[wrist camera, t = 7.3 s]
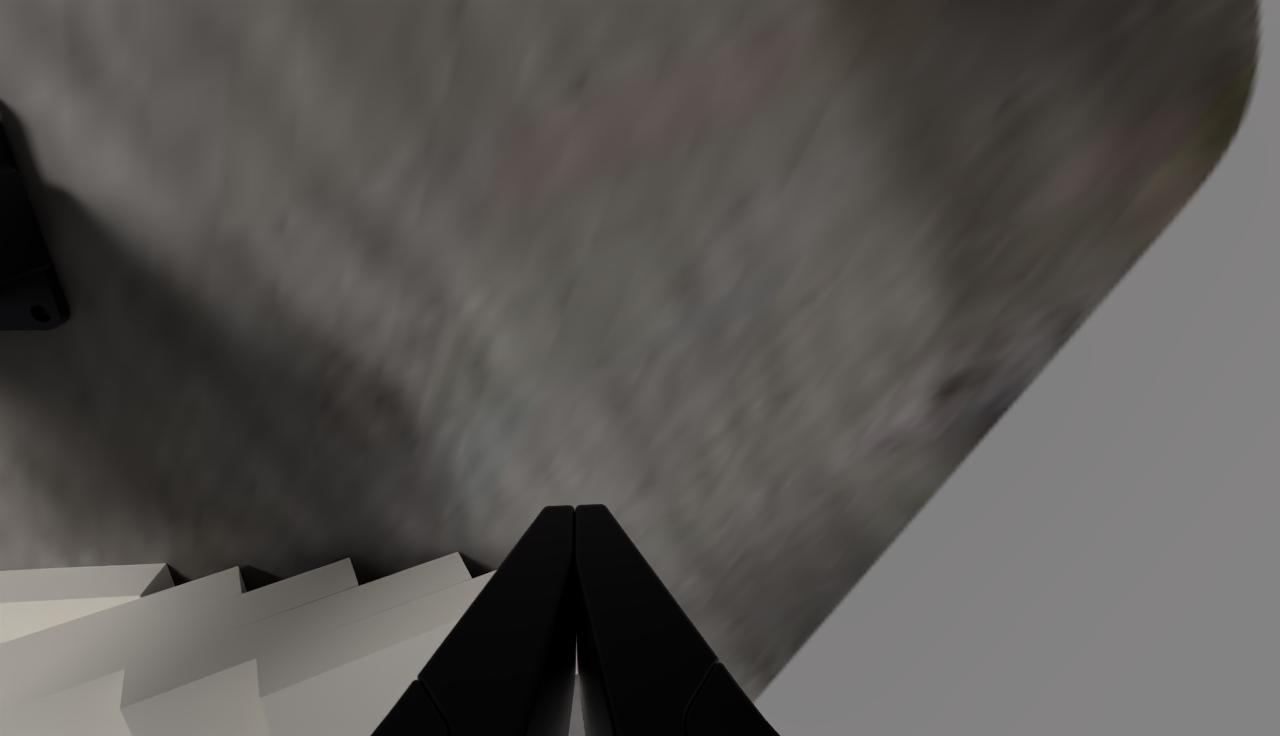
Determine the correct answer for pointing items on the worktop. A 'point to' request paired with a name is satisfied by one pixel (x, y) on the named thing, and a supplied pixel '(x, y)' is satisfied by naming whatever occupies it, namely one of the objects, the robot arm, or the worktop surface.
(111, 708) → the domino
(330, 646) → the domino
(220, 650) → the domino
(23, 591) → the domino
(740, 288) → the worktop surface
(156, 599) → the domino
